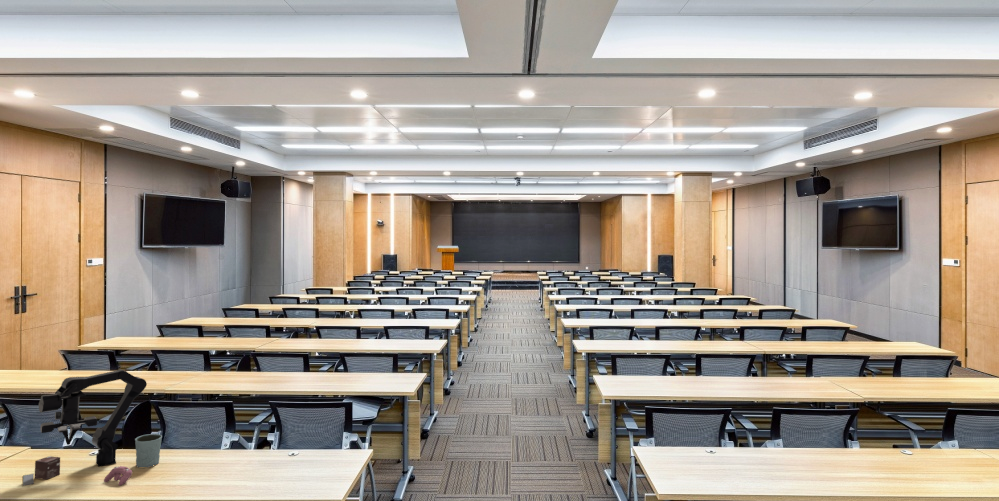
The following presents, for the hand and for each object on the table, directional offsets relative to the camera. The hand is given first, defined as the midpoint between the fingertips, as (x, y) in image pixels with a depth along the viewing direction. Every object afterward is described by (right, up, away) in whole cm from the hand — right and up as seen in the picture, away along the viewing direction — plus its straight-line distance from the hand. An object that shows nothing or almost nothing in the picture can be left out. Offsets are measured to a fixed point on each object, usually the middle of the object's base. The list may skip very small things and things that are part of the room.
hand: (68, 444), depth 235 cm
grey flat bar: (-10, -12, -8) cm, 17 cm away
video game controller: (+27, -13, -8) cm, 31 cm away
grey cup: (+27, -13, +11) cm, 32 cm away
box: (-5, -12, -4) cm, 14 cm away
